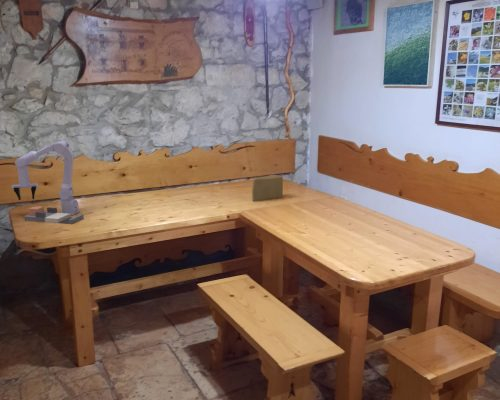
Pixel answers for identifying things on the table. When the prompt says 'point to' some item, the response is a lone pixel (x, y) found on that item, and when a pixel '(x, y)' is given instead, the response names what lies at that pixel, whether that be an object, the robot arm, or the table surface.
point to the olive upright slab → (267, 188)
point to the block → (35, 210)
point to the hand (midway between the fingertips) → (26, 199)
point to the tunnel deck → (54, 217)
